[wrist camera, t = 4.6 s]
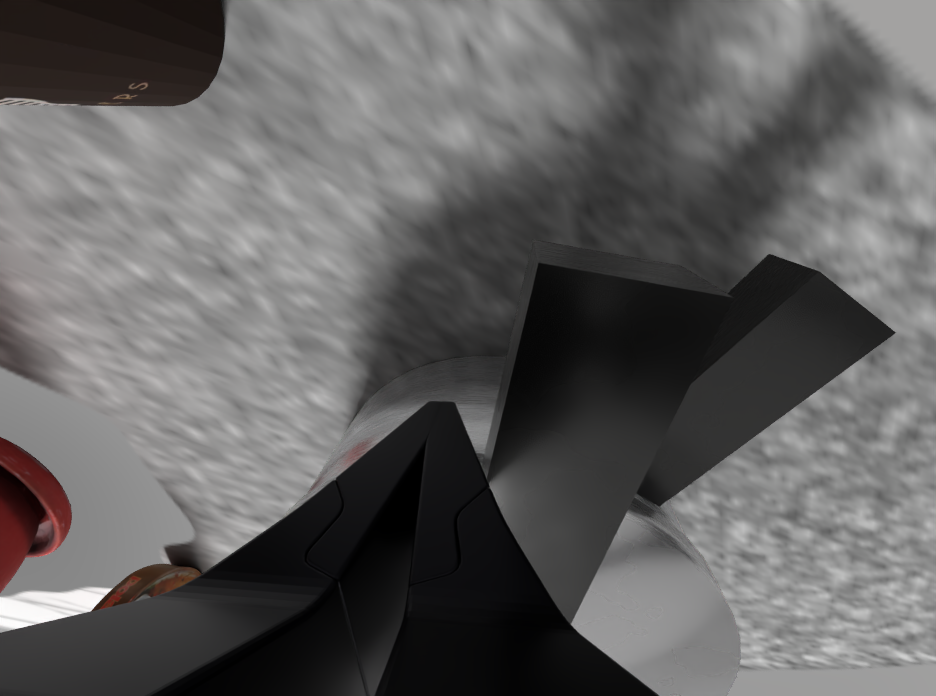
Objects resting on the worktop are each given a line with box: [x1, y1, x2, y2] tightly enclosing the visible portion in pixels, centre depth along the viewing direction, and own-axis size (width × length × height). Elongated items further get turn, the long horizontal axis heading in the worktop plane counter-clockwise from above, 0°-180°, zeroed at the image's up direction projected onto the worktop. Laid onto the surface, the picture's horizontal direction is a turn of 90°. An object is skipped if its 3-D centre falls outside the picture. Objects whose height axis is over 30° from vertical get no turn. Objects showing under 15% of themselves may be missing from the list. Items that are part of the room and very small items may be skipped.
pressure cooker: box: [308, 254, 896, 535], centre depth 18 cm, size 28×18×7 cm, turn 148°
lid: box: [283, 240, 741, 696], centre depth 13 cm, size 25×19×3 cm
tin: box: [92, 564, 201, 611], centre depth 28 cm, size 15×3×8 cm, turn 179°
